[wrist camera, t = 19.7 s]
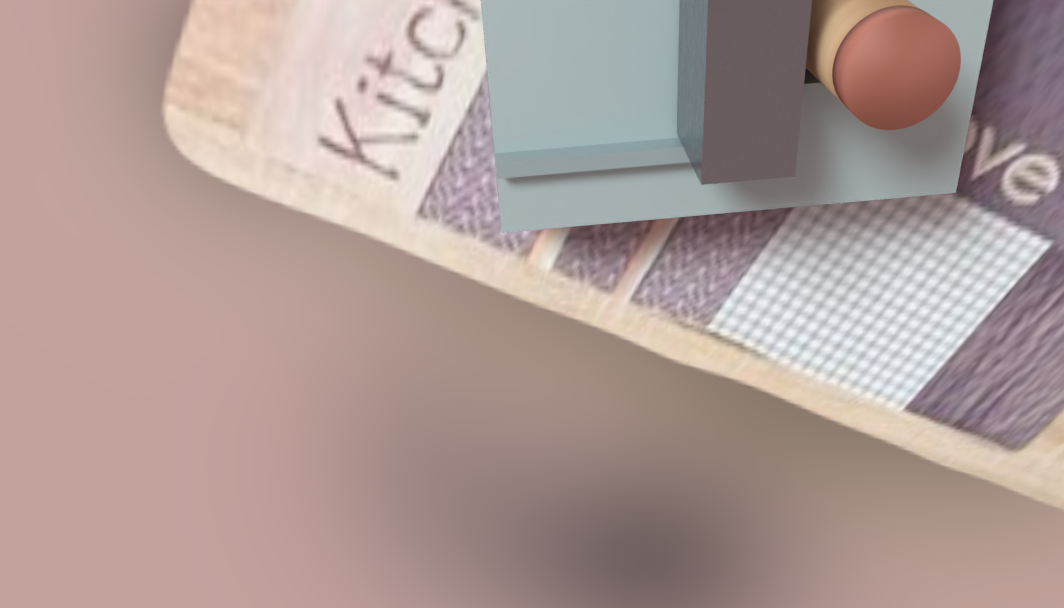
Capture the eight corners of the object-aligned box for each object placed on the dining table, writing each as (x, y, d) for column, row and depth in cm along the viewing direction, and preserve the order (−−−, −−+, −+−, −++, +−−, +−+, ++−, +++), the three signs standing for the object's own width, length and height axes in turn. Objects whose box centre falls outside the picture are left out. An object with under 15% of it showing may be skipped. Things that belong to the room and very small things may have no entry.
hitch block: (964, -245, 34) (1051, -227, 29) (904, 138, 41) (965, 202, 37) (462, -207, 33) (465, -183, 28) (496, 173, 41) (502, 243, 36)
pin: (845, -60, 36) (976, 17, 28) (824, 32, 38) (941, 131, 30) (755, -65, 36) (860, 12, 28) (739, 29, 38) (832, 128, 29)
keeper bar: (776, -84, 31) (816, -52, 28) (761, 125, 35) (795, 176, 32) (681, -76, 31) (709, -43, 28) (676, 133, 35) (701, 184, 31)
